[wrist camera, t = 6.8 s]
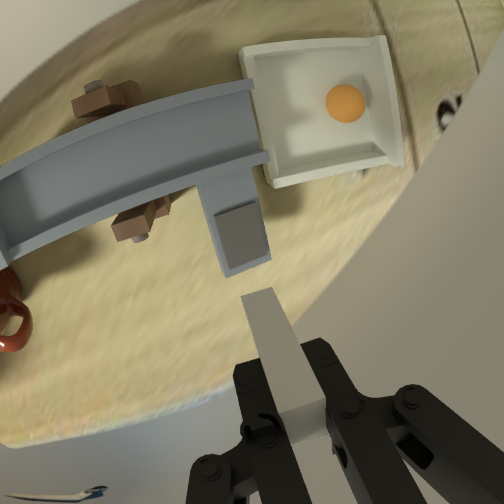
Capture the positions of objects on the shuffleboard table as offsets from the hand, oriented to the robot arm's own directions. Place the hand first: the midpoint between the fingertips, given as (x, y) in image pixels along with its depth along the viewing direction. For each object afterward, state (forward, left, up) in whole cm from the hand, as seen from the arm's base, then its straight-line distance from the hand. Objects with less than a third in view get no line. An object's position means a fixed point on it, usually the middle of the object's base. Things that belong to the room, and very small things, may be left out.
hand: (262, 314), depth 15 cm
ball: (+12, +8, -12) cm, 19 cm away
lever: (-7, +4, -9) cm, 12 cm away
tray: (+10, +8, -15) cm, 19 cm away
